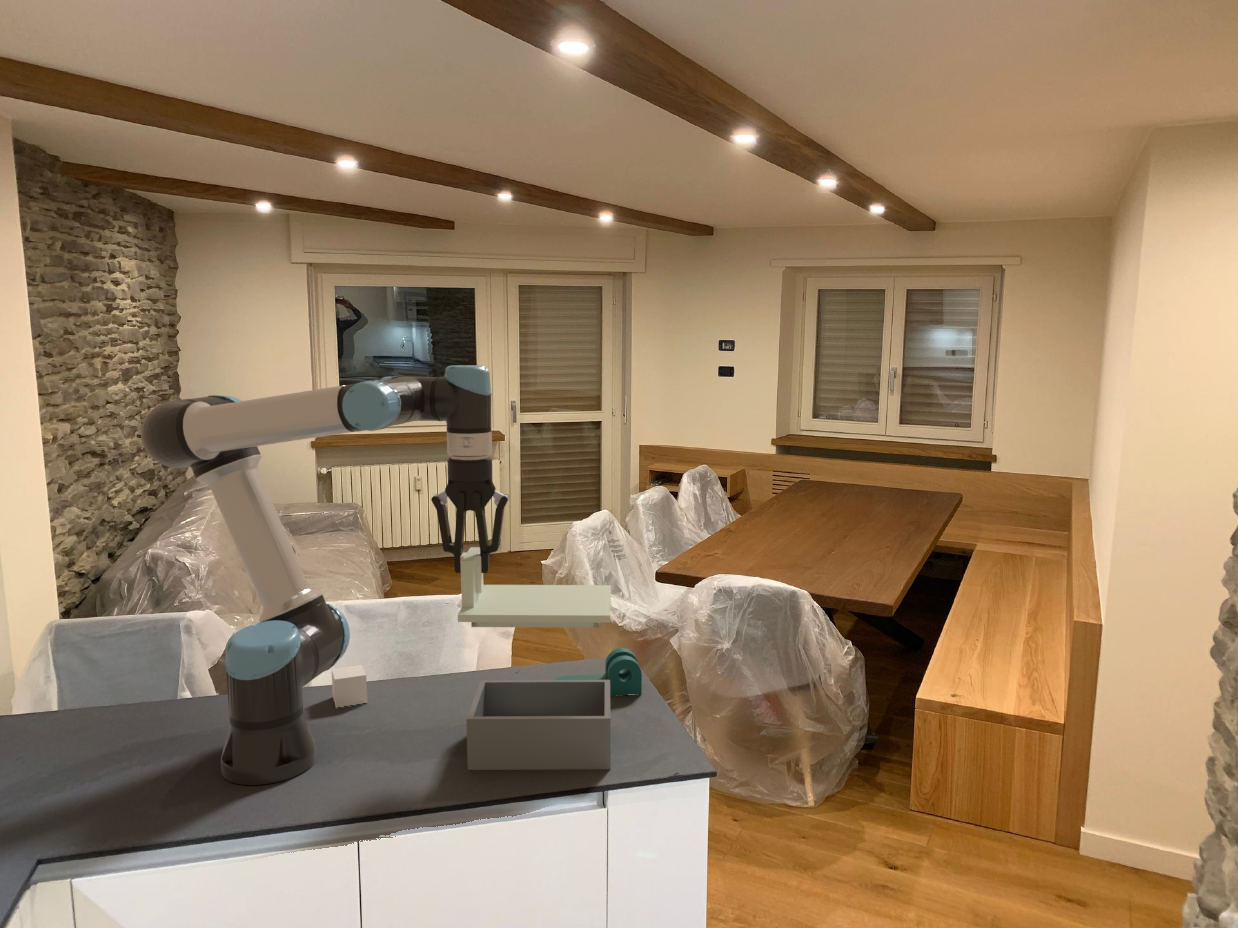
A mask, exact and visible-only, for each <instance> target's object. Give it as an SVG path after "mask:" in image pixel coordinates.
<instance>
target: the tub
mask: <svg viewBox="0 0 1238 928" xmlns="http://www.w3.org/2000/svg"><path fill="white" fill-rule="evenodd" d="M465 723H466V751H467V752H466V754H467V755H466V757H467V762H466V763H467V764H466V765H467V771H501V770H502V771H514V770H515V771H516V770H517V771H519V770H524V771H525V770H528V771H529V770H531V771H532V770H537V771H539V770H540V771H543V770H545V771H546V770H552V771H553V770H611V696H610V680H554V679H513V680H512V679H511V680H510V679H499V680H498V679H495V680H494V679H493V680H492V679H491V680H488V679H487V680H485V679H483V680H481V679H480V681H479V682H478V686H477V689H476V691H475V694H474V697H473V700H472V702H471V705H470V708H469V712H468V714H467V716H466V722H465Z"/></svg>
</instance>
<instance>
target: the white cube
mask: <svg viewBox="0 0 1238 928" xmlns="http://www.w3.org/2000/svg"><path fill="white" fill-rule="evenodd" d="M331 683H332V684H331V685H332V686H331V688H332V689H331V691H332V699H333V702H335V703H334V706H335V708H336V707H341V708H345V707H344V706H348V707H350V706H349V705H354V706H357V705H356V704H361V705H363V704H362V703H367V704H368V689H367V687H368V685H367V684H368V683H367V674H366V671H365V668H364V667H363V664H359V665H352V666H347V667H346V666H345V667H337V668H331Z"/></svg>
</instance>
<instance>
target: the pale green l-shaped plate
mask: <svg viewBox="0 0 1238 928" xmlns="http://www.w3.org/2000/svg"><path fill="white" fill-rule="evenodd" d="M465 553H466V555H465V556H464V558H463V559H462V560H461V573H460V589H461V588H462V593H461V609H460V610H459V611H458V614H457V623H471V628H585V629H587V628H593V629H594V628H596V629H597V628H600V626H599V625H600V623H601V624H602V623H604V624H605V623H609V624H610V623H611V605H612V604H611V603H612V585H611V584H609V585H607V584H483V587H484V589H483V591H482V593H477V565H476V556H477V555H478V553H480V546H478V547H477V546H476V547H475V546H472V547H470V548H469V549H468V550H467V552H465Z"/></svg>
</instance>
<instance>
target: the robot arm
mask: <svg viewBox="0 0 1238 928" xmlns="http://www.w3.org/2000/svg"><path fill="white" fill-rule="evenodd" d="M492 396H493V391H492V386H491V373H490V370H489V369H488V367H487V366H484V365H478V364H477V365H476V364H475V365H473V364H472V365H471V364H470V365H468V364H467V365H461V364H460V365H459V364H457V365H449V366H446V368H445V373H444V376H437V377H436V376H435V377H433V376H432V377H431V376H410V375H409V376H405V375H394V376H384V377H382V378H381V379H371V380H364V381H360V382H357V383H352V384H346V385H344V384H343V385H337V386H331V387H325V388H318V389H312V390H305V391H297V392H291V393H287V394H279V395H273V396H266V397H260V398H254V399H248V400H247V399H246V400H241V399H239V398H237V397H235V396H230V395H217V394H214V395H213V394H211V395H207V396H202V397H194V398H185V399H174V400H169V401H166V402H163V403H161V404H159V405H157V406H155V407H154V408H153V409H151V411H149V412H148V413H147V415H146V416H145V418H144V420H143V421H142V426H141V429H140V435H141V443H142V446H143V447H144V450H145V451H146V453H147V454H148V455H149V457H150V458H152V459H153V460H154V461H156V462H157V463H159V464H161V465H163V466H166V467H168V468H174V469H184V468H190V469H191V471H192V473H193V475H194V478H195V481H197V482H199V483H202V484H205V485H207V486H208V487H209V489H210V490H211V493H212V495H213V497H214V500H215V503H216V504H217V506H218V509H219V512H220V513H221V515H222V519H223V520H224V523H225V524H226V527H227V529H228V531H229V534H230V537H231V538H232V540H233V542H234V543H233V544H234V545H235V547H236V549H237V551H238V554H239V557H240V559H241V561H242V563H243V564H244V568H245V570H246V571H247V573H248V574H247V575H248V576H249V578H250V581H251V583H252V585H253V587H254V590H255V592H256V594H257V597H258V599H259V601H260V603H261V606H262V612H261V614H260V617H259V619H258V621H259V622H257V624H250V625H247V626H245V627H243V628H241V629H239V630H238V631H236V632H234V633H233V635H231V636H230V638H228V641H227V642H226V645H225V658H224V669H225V673H226V687H227V688H226V689H227V702H228V703H227V704H228V714H229V715H228V716H229V728H228V732H227V735H226V738H225V742H224V745H223V748H222V753H221V756H220V773H221V776H222V777H223V778H224V780H226V781H228V782H231V783H234V784H237V785H247V786H258V785H268V784H274V783H278V782H282V781H286V780H288V779H289V780H290V779H293V778H294V777H296V776H299V775H301V774H302V773H304V772H306V771H307V770H308V769H310V768H311V767H312V766H313V765H314V764H315V762H316V761H317V745H316V742H315V738H314V737H313V735H312V732H311V729H310V726H309V725H308V723H307V720H306V718H305V715H304V701H303V687H304V686H306V685H308V684H309V683H310V682H311V681H313V680H314V679H316V678H317V677H318V676H319V675H321V674H322V673H324V672H326V671H328V670H330V669H332V668H333V666H335V665H336V664H337V663H338V661H339V660H341V658H342V657H343V656H344V655H345V653H346V651H347V649H348V647H349V644H350V637H351V632H350V625H349V622H348V620H347V618H346V616H345V615H344V613H343V612H342V611H341V610H340V609H339V608H338V607H334V605H333V604H330V603H327V602H326V599H325V597H324V594H323V593H322V592H321V591H319V590H316V589H313V588H311V587H310V585H309V583H308V581H307V579H306V577H305V574H304V571H303V569H302V567H301V565H300V563H299V560H298V558H297V556H296V553H295V551H294V548H293V547H292V545H291V542H290V539H289V538H288V535H287V533H286V531H285V529H284V526H283V524H282V522H281V519H280V517H279V515H278V513H277V509H276V507H275V506H274V503H273V501H272V499H271V496H270V494H269V492H268V490H267V487H266V485H265V483H264V480H263V478H262V476H261V474H260V471H259V469H258V468H259V467H258V466H259V464H260V462H261V459H262V453H261V452H260V450H259V447H260V446H261V447H262V446H267V445H275V444H281V443H288V442H293V441H301V440H308V439H315V438H322V437H327V436H329V437H330V436H335V435H340V434H341V435H342V434H348V433H355V432H357V433H358V432H364V431H365V432H366V431H367V432H368V431H370V432H374V431H380V430H383V429H386V428H389V427H393V426H398V425H401V424H406V423H407V424H408V423H411V422H420V421H421V422H423V421H424V422H443V421H444V422H445V423H446V450H447V451H446V453H447V455H448V456H449V458H448V459H447V460H446V461H447V484H446V486H445V489H444V491H442V492H440V493H435V494H434V495H433V496H432V497H431V499H430V501H431V502H432V504H433V507H434V508H435V510H436V514H437V520H438V527H439V532H440V538H441V544H442V549H443V551H444V553H445V552H446V553H447V552H448V553H451V554H453V557H454V558H453V560H454V561H453V562H454V565H453V566H454V572H455V574H461V560H462V559H463V558H464V556H465V555H466V553H467V552H464V543H465V530H466V521H467V520H466V518H467V512H468V511H473V512H474V516H475V520H476V529H477V535H478V544H479V546H478V547H480V553H478V555H477V556H476V565H477V593H482V591H483V589H484V587H483V585H484V574H488V572H489V570H490V554H491V553H496V552H498V550H499V548H500V545H501V537H502V530H503V523H504V522H503V521H504V514H505V507H506V505H507V504H508V502H509V500H510V496H509V494H506V493H505V494H503V493H502V492H500V491H498V490H497V489H496V486H495V485H494V481H493V459H492V457H490V455H492V453H493V434H492V433H493V432H492ZM492 498H493V499H494V503H493V504H494V505H496V507H495V512H494V521H493V527H492V536H491V543H490V542H489V535H488V534H489V533H488V527H487V526H488V525H487V519H486V506H487V505H488V504H489V502H490V501H491V500H492ZM448 499H449V501H451V503H452V505H454V507H455V508H456V512H455V513H456V515H455V517H456V520H455V531H454V542H453V539H452V533H451V527H450V522H449V516H448V509H447V505H446V504H447V503H448ZM460 593H461V594H462V588H461V587H460Z"/></svg>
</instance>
